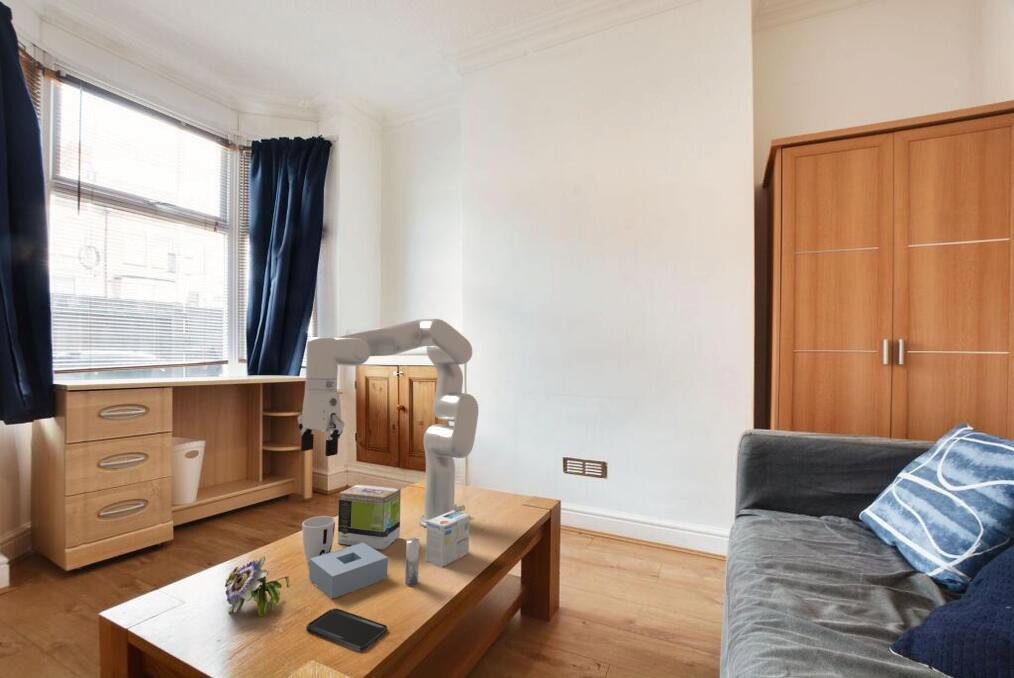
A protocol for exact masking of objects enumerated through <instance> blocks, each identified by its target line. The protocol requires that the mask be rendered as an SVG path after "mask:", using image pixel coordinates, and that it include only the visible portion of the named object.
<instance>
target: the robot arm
mask: <svg viewBox="0 0 1014 678" xmlns="http://www.w3.org/2000/svg"><path fill="white" fill-rule="evenodd" d="M423 347H426V354H427V357H428V358H429V360H430V361H431V363H432V364H433V366H434V368H435V369H436V372H437V382H436V390H435V395H434V401H433V407H432V408H433V411H432V412H433V416H435V418H437V419H439V420H442V421H447V422H453V425H449V424H443V423H436V424H433V425H430V426H429V427H428V428H427V429H426V430H425V432H424V435H423V449H424V453H425V454H424V457H425V484H424V485H425V488H424V514H423V515H422V516H420V517H419V524H420V525H421V526H423V527H425V528H427V520H430V519H433V518H435V517H438V516H440V515H443V514H445V513H447V512H450V511H452V510H454V511H457V512H463V511H465V509H466V505H464V504H461V505H457V504H455V485H456V484H455V483H456V464H455V463H456V462H455V461H454V458H456V459H463V458H467V457H468V456H469V455H470V454H471V452H472V450H473V447H474V444H475V441H476V440H475V439H476V433H477V426H478V420H479V419H478V417H479V404H478V401H477V399H476V397H474V396H473V395H472V394H469V393H465V392H463V382H464V374H463V371H462V369H461V367H460V365H465V364H466V363H468V362H469V361H470V360H471V358H472V356H473V347H472V344H471V343H470V341H469V340H468V338H466V337H465V336H464V335H463V334H462V333H460V332H459V331H458V330H457V329H455V328H454V327H453V326H451V324H449V323H447V321H444V320H442V319H439V318H428V319H427V318H426V319H425V318H424V319H416V320H411V321H408V322H402V323H398V324H394V325H388V326H384V327H379V328H375V329H370V330H366V331H361V332H354V333H349V334H346V335H341V336H337V337H326V336H325V337H324V336H323V337H322V336H321V337H315V336H313V337H310V338H309V339H308V340H307V342H306V361H305V362H306V367H305V369H306V370H305V390H304V395H303V401H302V412H301V413H302V414H300V415H298V416H297V419H296V420H297V422H298V428H299V430H300V432H299V433H300V435H301V439H300V442H301V443H300V445H301V446H300V448H301V449H300V451H301V452H307V451H312V450H313V449H314V439H315V438H314V431H318V432H324V434H325V435H326V438H327V439H326V441H325V453H324V455H325V456H326V457H333V456H335V455H336V456H337V455H338V452H339V451H338V450H339V439H340V438H341V435H342V434H343V431H344V428H345V425H346V424H345V422H344V421H343V420H342V419H341V418H342V416H341V415H342V411H341V410H342V409H341V399H340V393H339V392H340V391H338V369H339V366H349V367H350V366H351V367H355V366H356V367H357V366H361V365H363V364H365V363H367V361H368V360H369V358H370V357H386V356H394V355H398V354H401V353H404V352H405V353H406V352H409V351H411V350H417V349H419V348H423ZM331 432H332V433H331Z"/></svg>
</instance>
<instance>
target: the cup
mask: <svg viewBox="0 0 1014 678" xmlns="http://www.w3.org/2000/svg"><path fill="white" fill-rule="evenodd" d="M301 526H302V527H301V528H302V530H301V531H302V544H303V550H304V555H305V558H306V561H308V562H309V563H308V562H307V563H308V564H310V559H311V558H314V557H317V556H320V555H324V554H327V553H330V552H332V547H333V543H334V537H335V529H336V518H335V517H333V516H327V515H321V516H320V515H319V516H314V517H310V518H308V519H305V520H304V521H303V522H302V524H301Z"/></svg>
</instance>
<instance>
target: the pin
mask: <svg viewBox="0 0 1014 678" xmlns="http://www.w3.org/2000/svg"><path fill="white" fill-rule="evenodd" d="M405 544H406V545H405V548H406V549H405V579H404V580H405V581H404V583H405V586H408V587H414V586H417V584H419V558H420V557H419V556H420V555H419V554H420V553H419V552H420V539H419V538H416V537H412V538H408V539H406V542H405Z"/></svg>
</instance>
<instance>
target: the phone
mask: <svg viewBox="0 0 1014 678" xmlns="http://www.w3.org/2000/svg"><path fill="white" fill-rule="evenodd" d="M305 628H306V630H307V631H308V632H311V633H312V634H311V633H310V634H311V635H314V634H315V635H314V636H316V635H317V636H316V637H319V636H320V637H319V638H321V637H322V638H321V639H324V640H326V639H327V641H329V642H332V643H334V644H336V645H340V646H342V647H345V648H348V649H350V650H353V651H355V652H357V651H358V652H359V653H361V652H362V651H363V652H365V651H367V650H368V649H369V648H370V647H372V646H373V645H374V644H376V642H378V641H379V640H380V639H382V637H384V636H385V635H386V634H387V633H388V626H387V624H383V623H380V622H377V621H375V620H372V619H368V618H366V617H363V616H360V615H357V614H354V613H351V612H348V611H346V610H342V609H340V608H338V607H337V608H330V609H329V610H327V611H325V612H324V613H323V614H321V615H320V616H318V617H317V618H315V619H313V620H311V621H310V622H309V623H307V624H306V627H305ZM306 630H305V631H306ZM307 631H306V632H307ZM308 632H307V633H308ZM371 645H372V646H371Z"/></svg>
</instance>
